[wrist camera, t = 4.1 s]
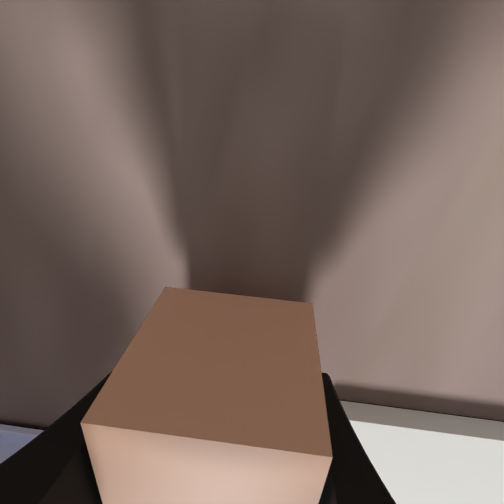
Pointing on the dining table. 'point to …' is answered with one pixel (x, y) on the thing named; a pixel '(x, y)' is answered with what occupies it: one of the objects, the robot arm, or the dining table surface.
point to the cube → (214, 406)
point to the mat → (432, 454)
